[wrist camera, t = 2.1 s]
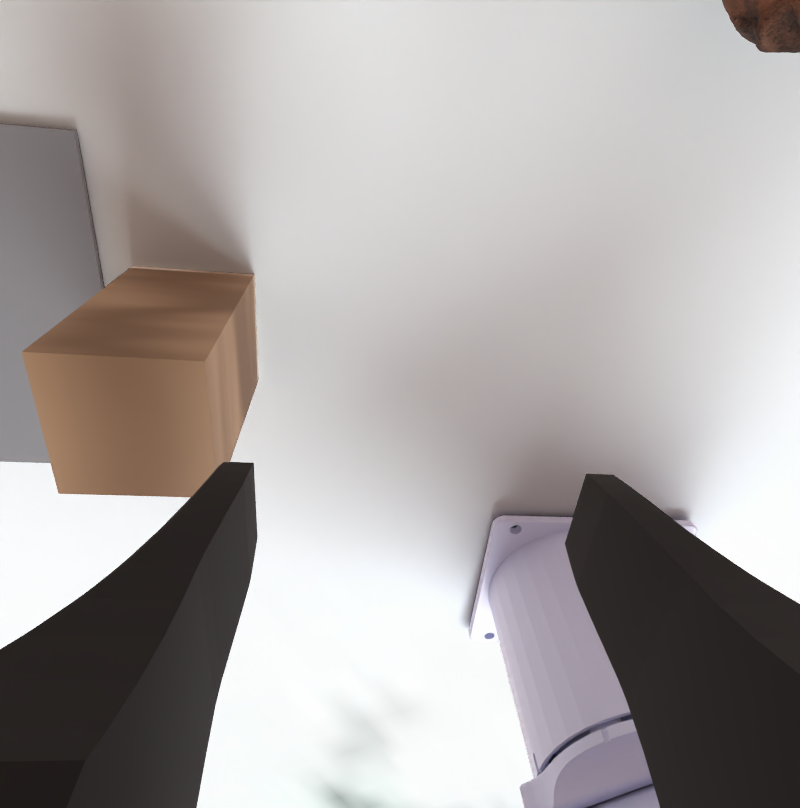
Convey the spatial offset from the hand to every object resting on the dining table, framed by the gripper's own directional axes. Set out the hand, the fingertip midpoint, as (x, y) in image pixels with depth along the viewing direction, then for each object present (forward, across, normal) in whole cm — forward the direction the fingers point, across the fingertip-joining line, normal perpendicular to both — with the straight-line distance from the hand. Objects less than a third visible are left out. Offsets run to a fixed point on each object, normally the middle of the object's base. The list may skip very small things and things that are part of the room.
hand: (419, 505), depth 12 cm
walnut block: (+10, +7, 0) cm, 12 cm away
